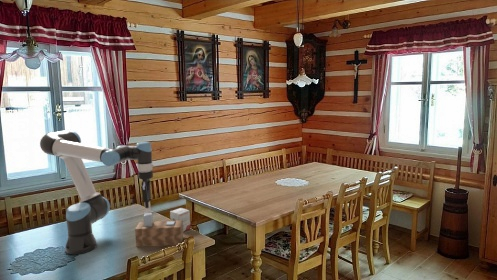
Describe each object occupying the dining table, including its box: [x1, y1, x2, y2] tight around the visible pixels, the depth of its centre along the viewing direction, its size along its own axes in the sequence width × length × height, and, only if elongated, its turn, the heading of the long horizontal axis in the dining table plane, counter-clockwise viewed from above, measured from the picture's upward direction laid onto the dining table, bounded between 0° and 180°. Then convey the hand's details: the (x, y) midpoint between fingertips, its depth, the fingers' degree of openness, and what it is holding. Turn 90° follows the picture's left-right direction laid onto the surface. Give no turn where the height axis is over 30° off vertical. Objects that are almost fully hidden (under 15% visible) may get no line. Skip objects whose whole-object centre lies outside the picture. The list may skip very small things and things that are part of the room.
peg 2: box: [166, 221, 175, 226], centre depth 193 cm, size 4×4×10 cm
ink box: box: [169, 207, 191, 232], centre depth 210 cm, size 9×9×12 cm
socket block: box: [134, 220, 184, 248], centre depth 193 cm, size 24×10×10 cm, turn 94°
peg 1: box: [143, 212, 154, 227], centre depth 192 cm, size 4×4×10 cm
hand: (147, 212), depth 191 cm, fingers closed
